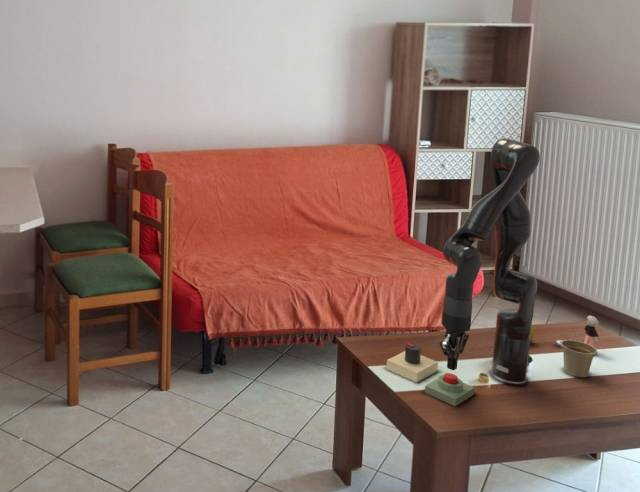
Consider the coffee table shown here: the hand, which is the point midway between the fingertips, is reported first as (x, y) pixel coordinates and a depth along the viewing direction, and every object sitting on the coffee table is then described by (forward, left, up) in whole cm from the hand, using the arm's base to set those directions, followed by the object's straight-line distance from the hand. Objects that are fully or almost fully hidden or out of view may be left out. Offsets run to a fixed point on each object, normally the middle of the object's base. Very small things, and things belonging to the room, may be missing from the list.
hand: (451, 368), depth 197 cm
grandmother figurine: (-64, +14, -8) cm, 66 cm away
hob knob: (-4, -14, -5) cm, 16 cm away
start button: (0, 0, -4) cm, 4 cm away
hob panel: (-4, -14, -8) cm, 17 cm away
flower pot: (-45, +17, -8) cm, 49 cm away
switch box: (0, 0, -8) cm, 8 cm away
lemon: (-54, -2, -8) cm, 55 cm away
